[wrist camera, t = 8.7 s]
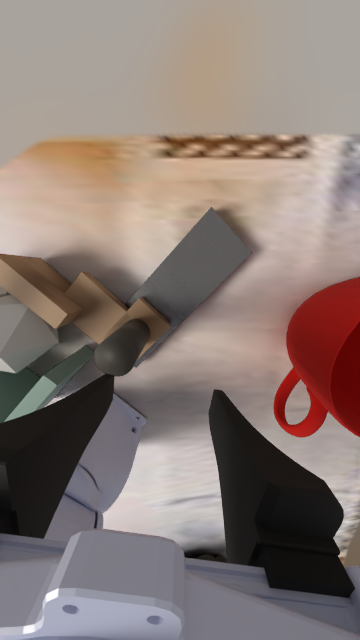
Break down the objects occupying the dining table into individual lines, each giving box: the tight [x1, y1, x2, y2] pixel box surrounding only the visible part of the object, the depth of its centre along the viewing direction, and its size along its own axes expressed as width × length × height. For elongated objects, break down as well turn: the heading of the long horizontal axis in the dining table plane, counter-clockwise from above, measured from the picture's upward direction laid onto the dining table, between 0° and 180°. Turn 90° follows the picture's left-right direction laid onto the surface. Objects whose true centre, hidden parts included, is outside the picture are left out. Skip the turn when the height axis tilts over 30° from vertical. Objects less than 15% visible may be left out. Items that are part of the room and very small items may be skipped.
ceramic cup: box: [274, 277, 360, 437], centre depth 17 cm, size 13×17×10 cm
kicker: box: [0, 254, 171, 376], centre depth 16 cm, size 16×7×9 cm, turn 46°
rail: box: [125, 207, 252, 367], centre depth 20 cm, size 6×18×2 cm, turn 136°
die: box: [0, 285, 59, 373], centre depth 18 cm, size 8×9×10 cm
